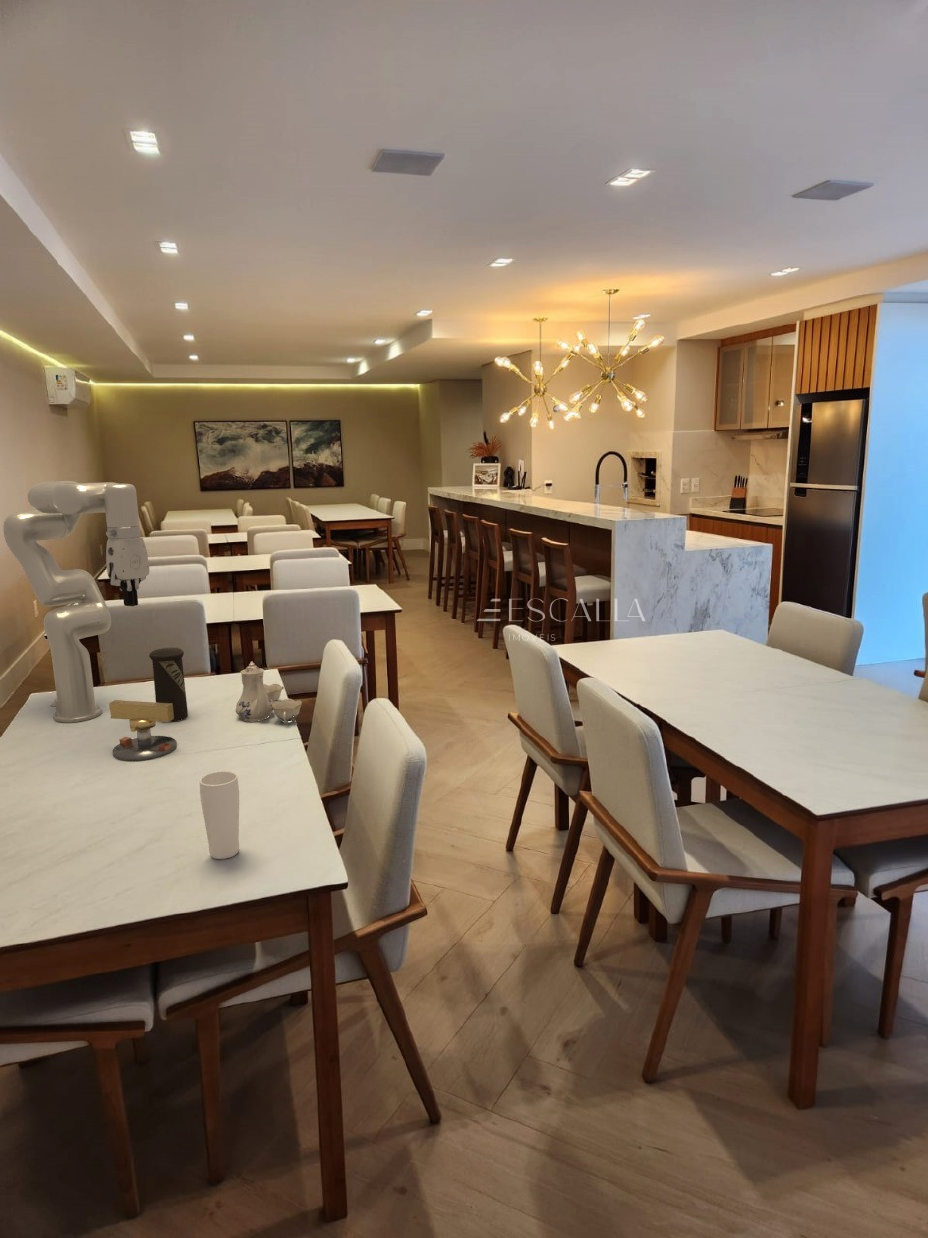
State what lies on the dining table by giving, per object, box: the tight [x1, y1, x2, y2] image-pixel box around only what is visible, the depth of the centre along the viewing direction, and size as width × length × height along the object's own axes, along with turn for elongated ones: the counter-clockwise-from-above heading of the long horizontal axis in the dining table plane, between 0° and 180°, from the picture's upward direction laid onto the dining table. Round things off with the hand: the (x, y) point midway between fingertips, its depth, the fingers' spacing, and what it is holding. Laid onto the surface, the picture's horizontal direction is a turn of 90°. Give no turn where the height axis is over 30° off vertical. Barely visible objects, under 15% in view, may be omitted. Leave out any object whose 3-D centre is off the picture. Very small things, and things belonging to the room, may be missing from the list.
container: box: [148, 647, 189, 723], centre depth 222 cm, size 9×9×20 cm
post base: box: [112, 728, 178, 762], centre depth 200 cm, size 15×15×6 cm
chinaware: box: [235, 660, 303, 724], centre depth 225 cm, size 28×17×17 cm, turn 35°
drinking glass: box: [199, 770, 240, 860], centre depth 147 cm, size 7×7×15 cm
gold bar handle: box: [108, 699, 174, 733], centre depth 198 cm, size 9×16×6 cm, turn 78°
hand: (131, 605), depth 203 cm, fingers closed
